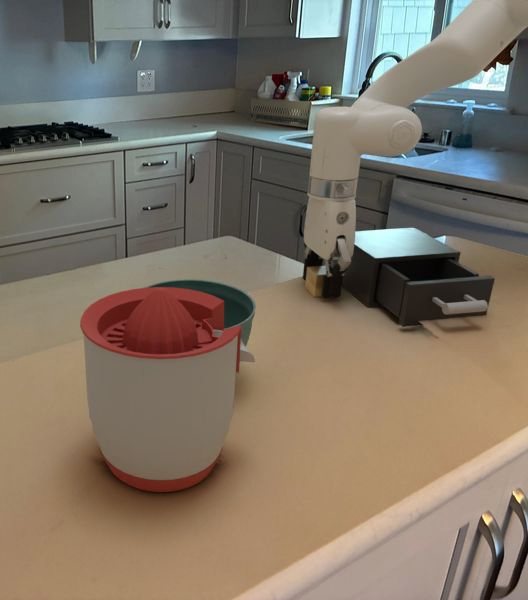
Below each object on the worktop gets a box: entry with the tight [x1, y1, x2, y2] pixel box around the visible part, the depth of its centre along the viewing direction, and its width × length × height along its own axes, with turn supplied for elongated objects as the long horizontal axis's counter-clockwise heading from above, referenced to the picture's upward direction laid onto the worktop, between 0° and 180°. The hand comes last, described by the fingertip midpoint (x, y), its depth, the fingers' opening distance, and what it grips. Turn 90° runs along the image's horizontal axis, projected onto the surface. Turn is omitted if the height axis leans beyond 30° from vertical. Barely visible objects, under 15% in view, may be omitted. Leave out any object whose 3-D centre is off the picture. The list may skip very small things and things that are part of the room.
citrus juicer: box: [79, 287, 256, 493], centre depth 63 cm, size 16×17×20 cm
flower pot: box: [143, 278, 257, 348], centre depth 80 cm, size 16×16×11 cm
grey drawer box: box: [332, 227, 462, 309], centre depth 106 cm, size 14×15×9 cm
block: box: [304, 265, 326, 298], centre depth 106 cm, size 4×4×4 cm
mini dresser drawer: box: [374, 257, 496, 328], centre depth 95 cm, size 17×13×7 cm
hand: (320, 287), depth 107 cm, fingers open, 7 cm apart
